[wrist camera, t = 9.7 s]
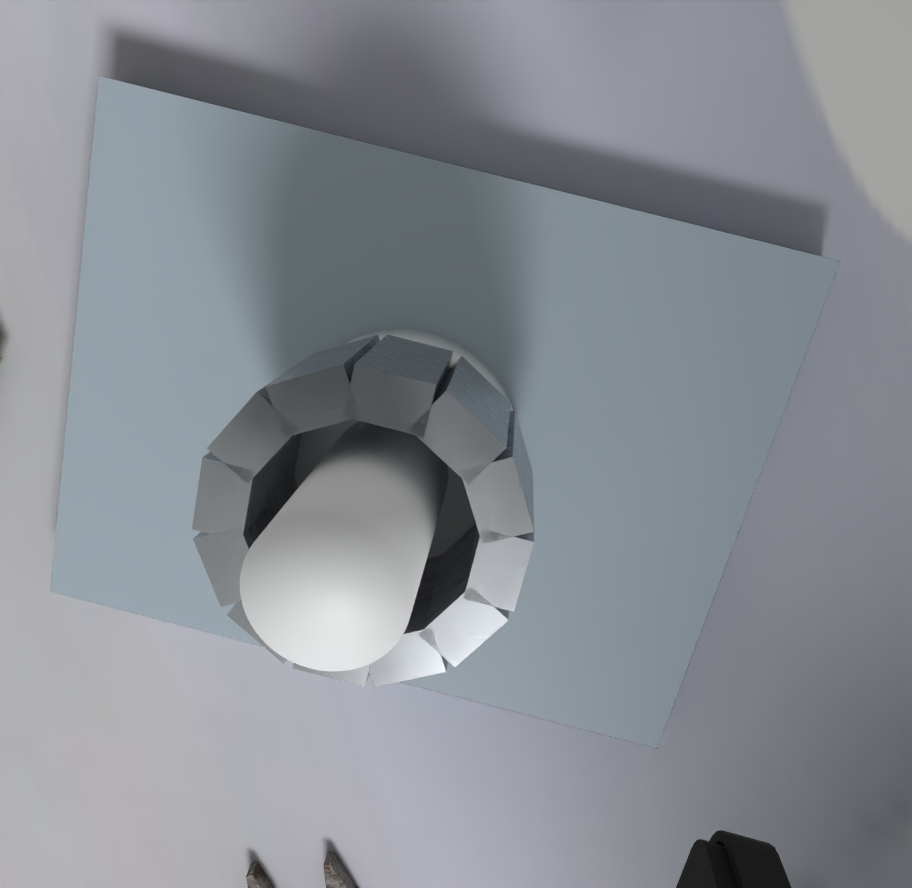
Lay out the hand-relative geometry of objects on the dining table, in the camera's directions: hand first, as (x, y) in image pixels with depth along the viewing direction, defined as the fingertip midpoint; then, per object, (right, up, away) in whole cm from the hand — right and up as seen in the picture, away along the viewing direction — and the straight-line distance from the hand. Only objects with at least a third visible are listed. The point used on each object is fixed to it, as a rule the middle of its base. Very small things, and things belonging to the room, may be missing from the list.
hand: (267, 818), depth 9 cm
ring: (+1, +3, +10) cm, 10 cm away
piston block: (+1, +5, +13) cm, 14 cm away
